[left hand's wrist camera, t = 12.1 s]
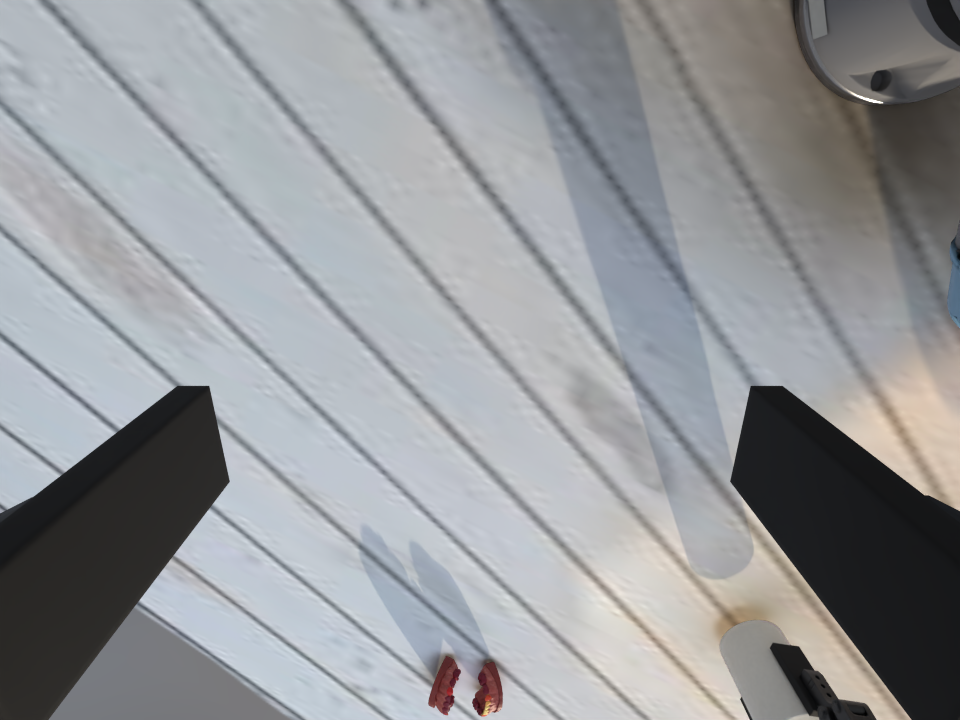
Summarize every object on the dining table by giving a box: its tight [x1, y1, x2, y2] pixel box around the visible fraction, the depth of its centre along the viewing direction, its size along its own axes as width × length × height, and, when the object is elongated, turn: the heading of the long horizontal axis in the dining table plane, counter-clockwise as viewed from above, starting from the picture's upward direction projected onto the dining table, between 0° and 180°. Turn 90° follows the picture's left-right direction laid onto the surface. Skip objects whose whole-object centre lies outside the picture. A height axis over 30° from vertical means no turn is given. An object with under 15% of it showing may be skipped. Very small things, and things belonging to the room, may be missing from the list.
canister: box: [720, 620, 819, 720], centre depth 50 cm, size 7×7×10 cm
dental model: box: [428, 656, 503, 716], centre depth 57 cm, size 6×4×8 cm
